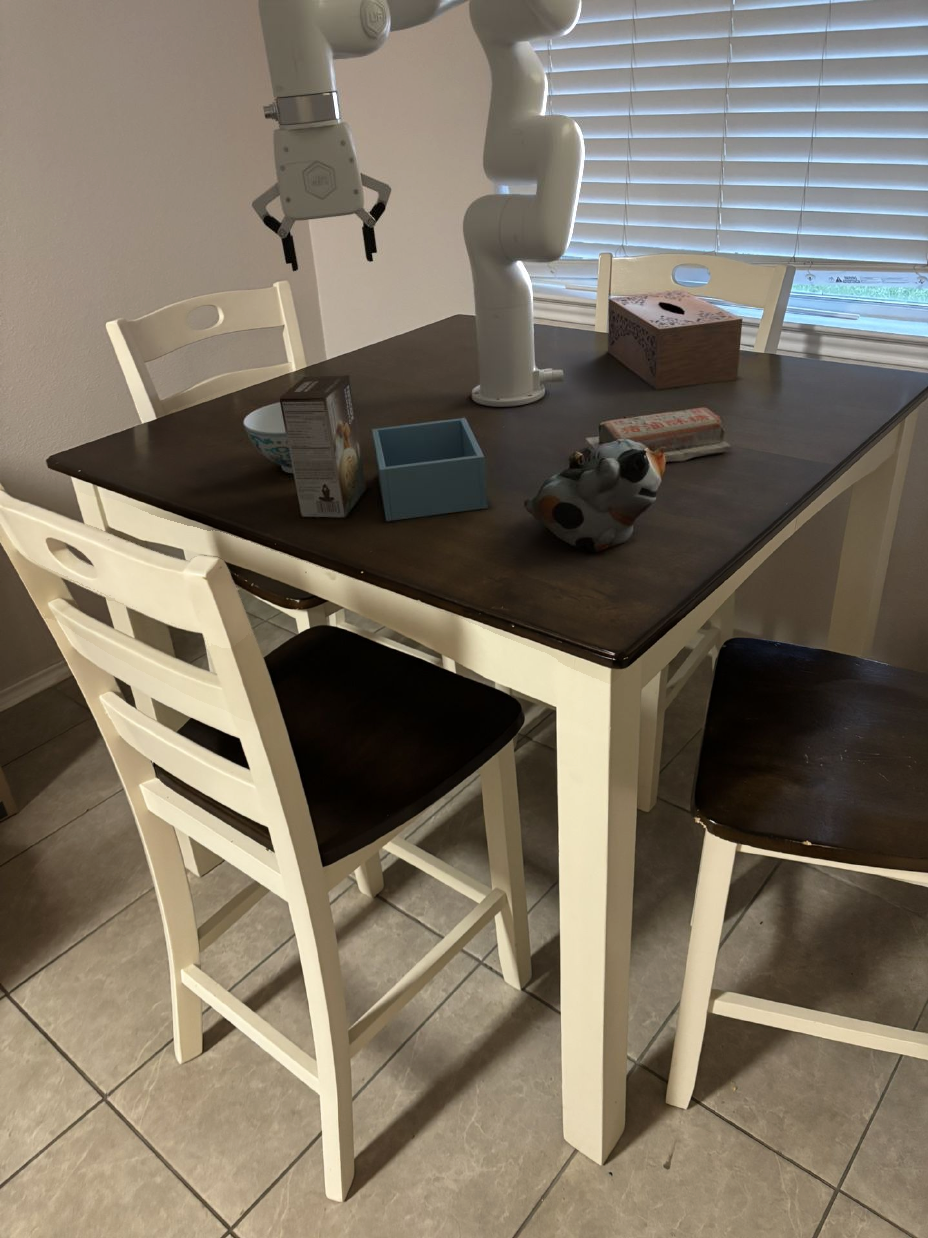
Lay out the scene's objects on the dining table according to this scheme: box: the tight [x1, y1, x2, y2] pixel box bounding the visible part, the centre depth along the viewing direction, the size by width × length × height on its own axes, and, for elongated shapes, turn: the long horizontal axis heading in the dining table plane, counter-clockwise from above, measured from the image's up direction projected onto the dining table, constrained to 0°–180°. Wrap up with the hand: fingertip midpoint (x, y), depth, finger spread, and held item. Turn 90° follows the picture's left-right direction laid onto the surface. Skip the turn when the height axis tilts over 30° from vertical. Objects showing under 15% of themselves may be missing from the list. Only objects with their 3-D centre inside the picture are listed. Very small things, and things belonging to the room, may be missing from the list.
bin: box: [371, 417, 488, 522], centre depth 119 cm, size 13×16×7 cm
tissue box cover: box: [607, 289, 743, 391], centre depth 160 cm, size 26×14×10 cm, turn 10°
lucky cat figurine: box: [523, 439, 666, 553], centre depth 103 cm, size 15×12×14 cm
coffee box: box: [278, 374, 367, 518], centre depth 116 cm, size 9×6×16 cm
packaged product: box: [585, 407, 732, 463], centre depth 126 cm, size 18×5×10 cm
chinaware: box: [242, 401, 294, 474], centre depth 131 cm, size 15×15×8 cm
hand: (332, 264), depth 115 cm, fingers open, 9 cm apart
